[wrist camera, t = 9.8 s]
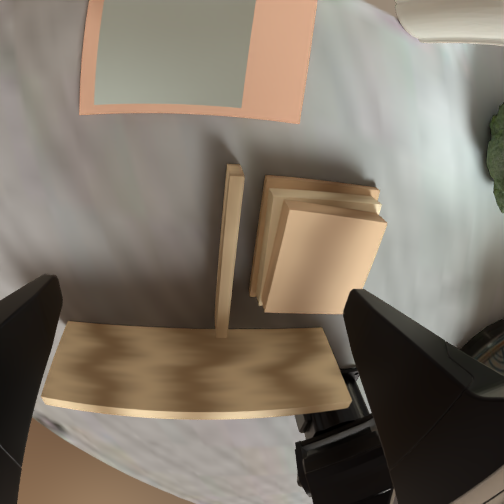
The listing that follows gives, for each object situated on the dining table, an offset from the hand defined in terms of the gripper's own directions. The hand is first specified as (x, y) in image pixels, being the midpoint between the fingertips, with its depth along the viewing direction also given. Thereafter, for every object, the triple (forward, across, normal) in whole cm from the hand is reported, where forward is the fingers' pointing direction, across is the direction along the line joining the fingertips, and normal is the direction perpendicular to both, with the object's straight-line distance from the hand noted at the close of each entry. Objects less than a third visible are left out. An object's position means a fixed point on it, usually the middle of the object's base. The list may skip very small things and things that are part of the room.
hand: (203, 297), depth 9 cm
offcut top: (+10, -8, +4) cm, 13 cm away
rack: (+12, 0, +6) cm, 14 cm away
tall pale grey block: (+11, +1, -10) cm, 15 cm away
